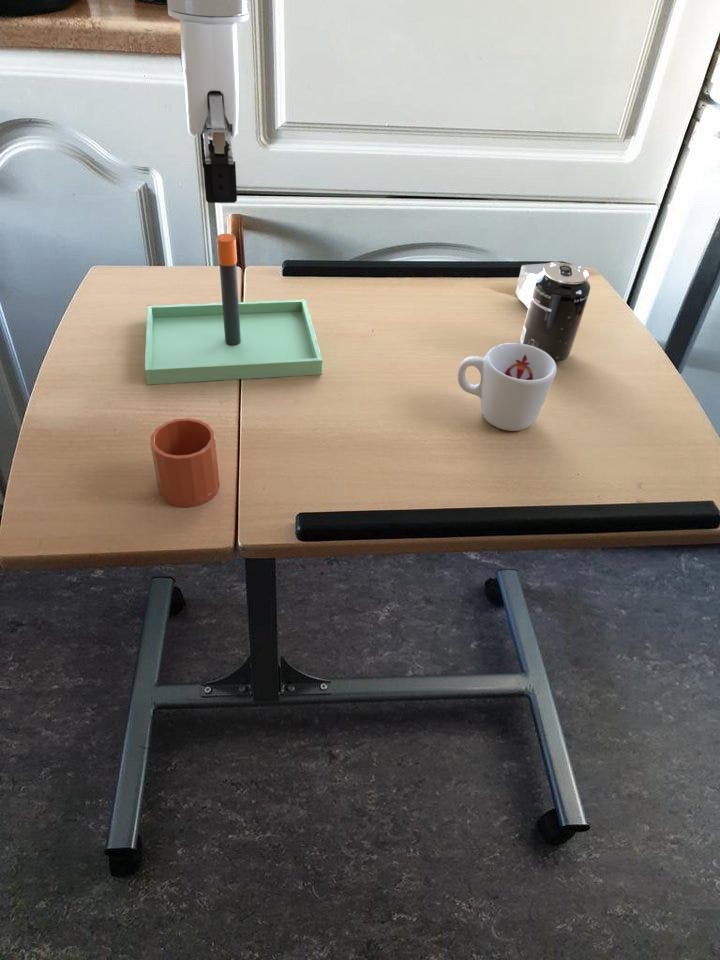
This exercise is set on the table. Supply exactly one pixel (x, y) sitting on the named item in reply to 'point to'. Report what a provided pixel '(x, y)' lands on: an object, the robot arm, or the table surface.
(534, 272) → the small box
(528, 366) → the cup
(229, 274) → the marker
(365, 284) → the table surface
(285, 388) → the table surface
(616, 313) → the table surface
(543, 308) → the beverage can
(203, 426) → the pen cup
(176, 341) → the tray
